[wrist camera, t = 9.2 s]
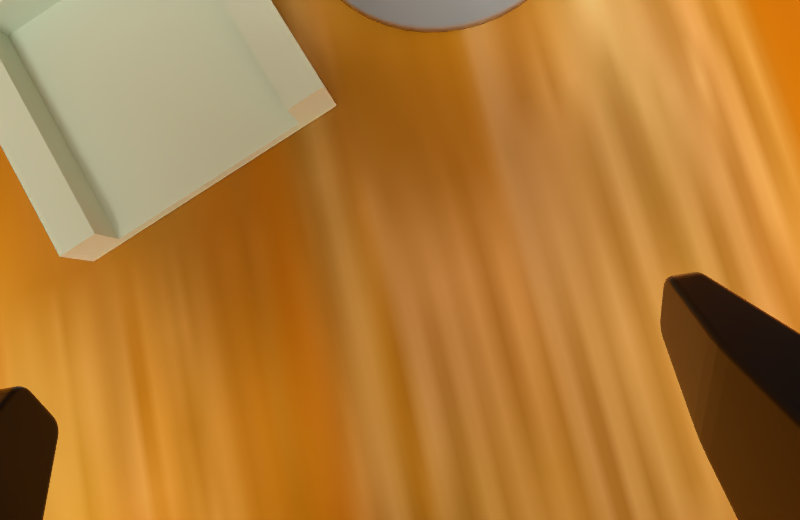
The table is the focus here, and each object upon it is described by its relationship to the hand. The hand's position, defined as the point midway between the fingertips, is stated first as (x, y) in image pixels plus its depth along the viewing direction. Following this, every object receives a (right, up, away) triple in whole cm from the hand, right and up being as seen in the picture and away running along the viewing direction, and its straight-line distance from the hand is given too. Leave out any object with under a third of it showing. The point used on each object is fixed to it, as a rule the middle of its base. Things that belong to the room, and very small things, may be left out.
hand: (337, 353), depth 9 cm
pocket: (-9, +9, +15) cm, 20 cm away
